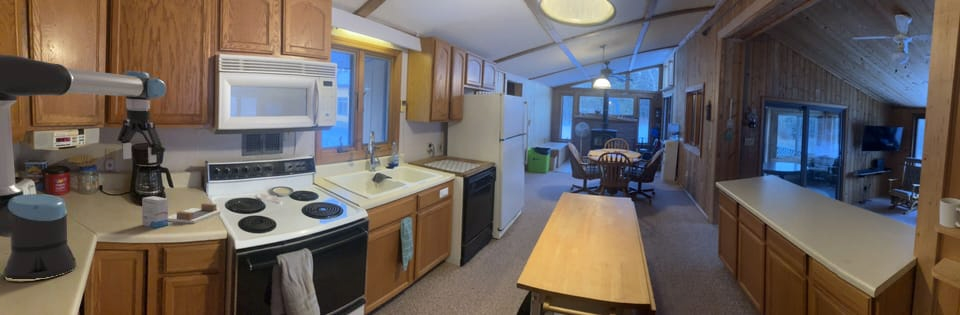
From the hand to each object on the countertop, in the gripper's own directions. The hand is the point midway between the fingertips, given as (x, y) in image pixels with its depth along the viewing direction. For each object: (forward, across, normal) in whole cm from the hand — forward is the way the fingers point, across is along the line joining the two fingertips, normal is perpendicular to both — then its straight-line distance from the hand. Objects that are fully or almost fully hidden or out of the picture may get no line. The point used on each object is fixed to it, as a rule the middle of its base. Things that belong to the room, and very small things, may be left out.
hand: (139, 160), depth 172 cm
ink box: (+27, -8, 0) cm, 28 cm away
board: (+27, -9, -16) cm, 32 cm away
